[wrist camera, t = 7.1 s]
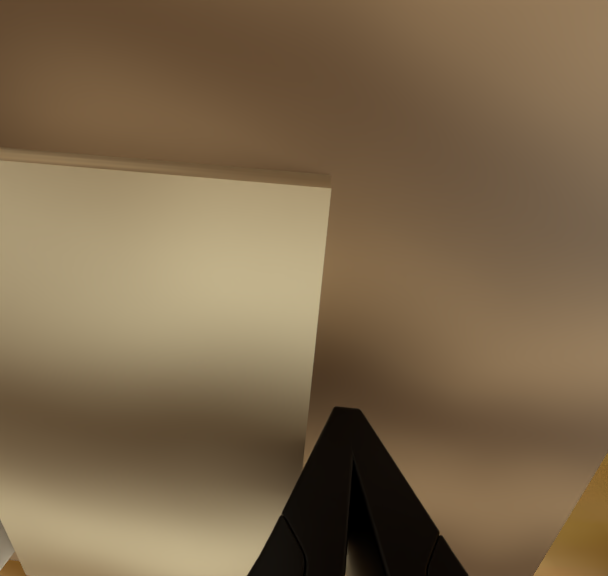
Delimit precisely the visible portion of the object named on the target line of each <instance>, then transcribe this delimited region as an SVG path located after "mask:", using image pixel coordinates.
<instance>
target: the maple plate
mask: <svg viewBox="0 0 608 576" xmlns="http://www.w3.org/2000/svg"><path fill="white" fill-rule="evenodd" d="M330 197H331V175H328V174H316V173H304V172H292V171H280V170H268V169H256V168H244V167H232V166H220V165H208V164H196V163H184V162H172V161H160V160H148V159H136V158H124V157H112V156H99V155H87V154H75V153H63V152H51V151H39V150H27V149H15V148H3V147H0V520H1V522H2V524H3V526H4V529H5V531H6V533H7V535H8V537H9V539H10V541H11V544H12V546H13V548H14V550H15V552H16V554H17V557H18V559H19V561H20V563H21V565H22V567H23V569H24V572H25V574H26V575H29V576H247V575H248V573H249V571H250V570H251V568H252V566H253V565H254V563H255V561H256V560H257V558H258V557H259V555H260V553H261V551H262V549H263V547H264V545H265V544H266V542H267V540H268V538H269V536H270V534H271V532H272V530H273V528H274V526H275V524H276V522H277V520H278V518H279V516H280V515H281V513H282V511H283V509H284V507H285V505H286V503H287V501H288V499H289V497H290V495H291V493H292V490H293V488H294V486H295V484H296V482H297V480H298V478H299V476H300V474H301V472H302V469H303V459H304V450H305V440H306V430H307V421H308V411H309V401H310V392H311V382H312V372H313V362H314V353H315V343H316V333H317V324H318V314H319V304H320V294H321V285H322V275H323V265H324V256H325V246H326V236H327V227H328V217H329V207H330Z"/></svg>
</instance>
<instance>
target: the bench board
mask: <svg viewBox="0 0 608 576" xmlns="http://www.w3.org/2000/svg"><path fill="white" fill-rule="evenodd" d="M0 147H3V148H15V149H27V150H39V151H51V152H63V153H75V154H87V155H99V156H112V157H124V158H136V159H148V160H160V161H172V162H184V163H196V164H208V165H220V166H232V167H244V168H256V169H268V170H280V171H292V172H304V173H316V174H328V175H331V197H330V207H329V217H328V227H327V236H326V246H325V256H324V265H323V275H322V285H321V294H320V304H319V314H318V324H317V333H316V343H315V353H314V362H313V372H312V382H311V392H310V401H309V411H308V421H307V430H306V440H305V450H304V459H303V468H304V466H305V464H306V462H307V460H308V458H309V456H310V454H311V452H312V450H313V448H314V446H315V444H316V442H317V440H318V438H319V436H320V434H321V432H322V430H323V428H324V426H325V424H326V422H327V420H328V418H329V416H330V414H331V412H332V410H333V408H334V407H335V406H339V407H349V408H358V409H360V410H361V411H362V412H363V414H364V415H365V417H366V418H367V420H368V421H369V423H370V425H371V426H372V428H373V429H374V431H375V432H376V434H377V435H378V437H379V438H380V440H381V442H382V443H383V445H384V446H385V448H386V449H387V451H388V452H389V454H390V455H391V457H392V458H393V460H394V462H395V463H396V465H397V466H398V468H399V469H400V471H401V472H402V474H403V475H404V477H405V479H406V480H407V482H408V483H409V485H410V486H411V488H412V489H413V491H414V492H415V494H416V496H417V497H418V499H419V500H420V502H421V503H422V505H423V506H424V508H425V509H426V511H427V513H428V514H429V516H430V517H431V519H432V520H433V522H434V523H435V525H436V526H437V528H438V529H439V531H440V534H439V535H442V536H443V537H444V538H445V540H446V542H447V543H448V545H449V546H450V548H451V549H452V551H453V553H454V554H455V556H456V557H457V558H458V560H459V561H460V563H461V564H462V566H463V567H464V569H465V570H466V572H467V573H468V575H469V576H533V575H534V573H535V572H536V570H537V568H538V567H539V565H540V563H541V562H542V560H543V558H544V557H545V555H546V553H547V552H548V550H549V549H550V547H551V545H552V544H553V542H554V540H555V539H556V537H557V535H558V534H559V532H560V530H561V529H562V527H563V525H564V524H565V522H566V520H567V519H568V517H569V515H570V514H571V512H572V510H573V509H574V507H575V505H576V504H577V502H578V501H579V499H580V497H581V496H582V494H583V492H584V491H585V489H586V487H587V486H588V484H589V482H590V481H591V479H592V477H593V476H594V474H595V472H596V471H597V469H598V467H599V466H600V464H601V462H602V461H603V459H604V458H605V456H606V454H607V453H608V0H0ZM302 470H303V469H302ZM8 560H15V561H19V559H18V557H17V554H16V552H15V550H14V548H13V546H12V544H11V541H10V539H9V537H8V535H7V533H6V531H5V529H4V526H3V524H2V522H1V520H0V570H1V569H2V567H3V566H4V565H5V564H6V562H7V561H8ZM345 576H346V574H345Z"/></svg>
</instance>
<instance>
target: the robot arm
mask: <svg viewBox="0 0 608 576" xmlns="http://www.w3.org/2000/svg"><path fill="white" fill-rule="evenodd" d="M439 534H440V531H439V529H438V528H437V526H436V525H435V523H434V522H433V520H432V519H431V517H430V516H429V514H428V513H427V511H426V509H425V508H424V506H423V505H422V503H421V502H420V500H419V499H418V497H417V496H416V494H415V492H414V491H413V489H412V488H411V486H410V485H409V483H408V482H407V480H406V479H405V477H404V475H403V474H402V472H401V471H400V469H399V468H398V466H397V465H396V463H395V462H394V460H393V458H392V457H391V455H390V454H389V452H388V451H387V449H386V448H385V446H384V445H383V443H382V442H381V440H380V438H379V437H378V435H377V434H376V432H375V431H374V429H373V428H372V426H371V425H370V423H369V421H368V420H367V418H366V417H365V415H364V414H363V412H362V411H361V410H360V409H358V408H349V407H339V406H335V407H334V408H333V410H332V412H331V414H330V416H329V418H328V420H327V422H326V424H325V426H324V428H323V430H322V432H321V434H320V436H319V438H318V440H317V442H316V444H315V446H314V448H313V450H312V452H311V454H310V456H309V458H308V460H307V462H306V464H305V466H304V468H303V470H302V472H301V474H300V476H299V478H298V480H297V482H296V484H295V486H294V488H293V490H292V493H291V495H290V497H289V499H288V501H287V503H286V505H285V507H284V509H283V511H282V513H281V515H280V516H279V518H278V520H277V522H276V524H275V526H274V528H273V530H272V532H271V534H270V536H269V538H268V540H267V542H266V544H265V545H264V547H263V549H262V551H261V553H260V555H259V557H258V558H257V560H256V561H255V563H254V565H253V566H252V568H251V570H250V571H249V573H248V575H247V576H345V574H346V576H469V575H468V573H467V572H466V570H465V569H464V567H463V566H462V564H461V563H460V561H459V560H458V558H457V557H456V556H455V554H454V553H453V551H452V549H451V548H450V546H449V545H448V543H447V542H446V540H445V538H444V537H443V536H442V535H439Z"/></svg>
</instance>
